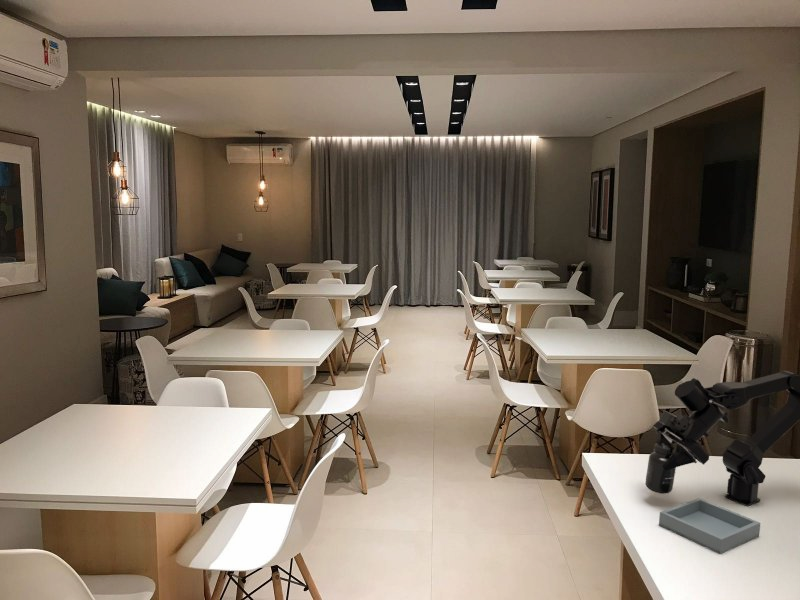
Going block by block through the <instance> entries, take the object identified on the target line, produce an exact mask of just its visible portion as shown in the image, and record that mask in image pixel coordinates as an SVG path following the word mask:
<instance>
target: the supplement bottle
mask: <svg viewBox="0 0 800 600" xmlns="http://www.w3.org/2000/svg"><path fill="white" fill-rule="evenodd" d="M672 445H673V444H672ZM672 445H670V444H668V443H663V442H659V443H656V442H655V444H654V447H655V448H654V447H653V449H654V452H653V453H652V452H650V454H649V456H648V461H647V467H646V468H647V470H646V474H645V483H644V484H645V487H646V488H647V489H648V490H649V491H651V492H654V493H657V494H663V495H666V494H669V493H672V491H673V487H674V483H675V482H674V481H675V475H676V468H677V467H676V468H673V469H670V470H667V471H665V470H664V469H663V466H664V465H665V464H666V462H667V461H668V460H669V459H670V458H671V457H672V455H673V454H674V453H675V450H676V449H675V448H676V447H675V446H674V445H673V446H672ZM674 447H675V448H674Z"/></svg>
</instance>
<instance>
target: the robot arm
mask: <svg viewBox="0 0 800 600" xmlns="http://www.w3.org/2000/svg"><path fill="white" fill-rule="evenodd" d="M781 391H787V392H789V393H788V395H787V399H786V402H785V404H784V406H783V407H782V408H781V409H779V410H778V411H777V412H776V413H775V414H774V415H773V416H772V417H771V418H770V419H769V420H767V422H765V423H764V424H763V425H762V426H761V427H760V428H759V429H758V430H757V431H756V432H755V433H753V435H751V436H750V437H749V438H748V439H746V440H744V441H743V440H740V439H738V438H736V439H734V440H733V441H732V442H731V444H730V445H728V446H727V447H725V448H724V449H725V451H724V452H723V453H722V463H723V465H724V467H725V469H726V472H727V473H730V474H729V475H730V476H729V478H728V479H727V488H726V493H727V494H725V495H724V498H726V499H729V500H732V501H734V502H736V503H739V504H742V505H743V506H749V507H750V506H751V505H753V504H755V503H758V502H761V498H760V497H758V495H759V494H758V492H759V484H763V483H764V481H765V478H766V474H765V473H764V472H763V471H762V470H761V469H760V467H761V466H762V463H763V460H764V454H765V453H766V452H767V451H768V450H769V449H770V448H771V447H773V446H774V444H776V442H778V441H779V440H780V439H781V438H782V437H783V436H784V435H786V434H787V433H788V431H790V430H791V429H792V428H793V427H794V426H795V425H796V424H797V423H799V421H800V376H799V375H798V373H794V372H791V371H788V370H780V371H779V372H777V373H773V374H768V375H765V376H762V377H756V378H753V379H750V380H747V381H743V382H742V381H741V382H740V381H739V382H738V381H737V382H734V381H726V382H725V381H724V382H723V381H722V382H716V383H714V384H713V385H712V386H709V387H708V386H707V387H704V386H703V385H702V383H701V381H700V380H699V379H698V378H694V377H692V378H691V380H687V381H683V382H682V383H680V384H678V385H677V386H676V388H675V390H674V396H676V398H677V399H678V400H679V401H680V402H681V404H682V405H683V406H685V407H686V409H687V410H688V411H690V412H691V413H690V415H689V416H688V415H687V414H685V415H681V414H679V415H675V414H673V413H671V412H669V411H666V410H665V409H664V410H663V413H661V416H660V417H659V420H658V421H656V422H655V423H654V424H653V425H652V426H653V428H654V429H655V433H656V434H657V435H656V436H657V440H656V442H655V444H656V443H659V442H663V443H668V444H670V445H672V446H674V445H673V444H676V446H674V448H676V449H675V451H674V454H673V455H672V457H671V458H670V459H669V460H668V461H667V462H666V464H665V465H664V466H663V469H664V470H665V471H667V470H670V469H673V468H679V467H682V466H686V465H690V464H693V463H694V464H697V463H701V464H702V465H705V464H706V463H707V462H708V461H709V460H710V454H709V453H708V452H707V451H706V450H705V448H704V447H703V446H702V445H701V443H699V442H698V441H699V440H700V439H701V438H702V437H703V438H706V439H707V438H708V436H709V435H710V434H708V432H709V431H710V430H711V429H712V427H714V426H715V425H716V424H717V423H718V422H719V421H722V422H724V423H725V424H727V423H729V417H728V415H729V412H727V411H726V410H724V409H721V408H720V407H723V408H725V409H727V410H730V411H733V410H736V409H739V408H741V407H743V406H746V405H747V404H748V402H749V401H751V400H753V399H756V398H759V397H764V396H767V395H771V394H775V393H779V392H781ZM710 401H711V402H712V403H711V402H710ZM719 406H720V407H719ZM654 448H655V446H653V449H652V451H651V453H653V452H654Z"/></svg>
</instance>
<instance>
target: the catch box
mask: <svg viewBox="0 0 800 600" xmlns="http://www.w3.org/2000/svg"><path fill="white" fill-rule="evenodd" d="M658 526H659V527H661V528H663V529H665V530H667V531H669V532H672V533H674V534H677V535H679V536H680V537H682V538H685V539H688V540H689V541H691V542H694V543H696V544H697V545H700V546H702V547H704V548H706V549H709V550H711V551H713V552H715V553H716V554H719V555H722V554H723V553H726V552H728V551H731V550H732V549H735V548H737V547H739V546H741V545H744V544H745V543H748V542H751V541H752V540H755V539H757V538H759V537H760V532H761V522H759V521H758V520H754V519H752V518H750V517H748V516H745V515H741V514H740V513H738V512H735V511H733V510H730V509H727V508H725V507H723V506H721V505H717V504H715V503H713V502H710V501H708V500H705V499H703V498H700V497H698V498H694V499H693V500H690V501H687V502H683V503H681V504H678V505H675V506H672V507H670V508H667V509H665V510H661V511H659V520H658Z"/></svg>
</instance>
